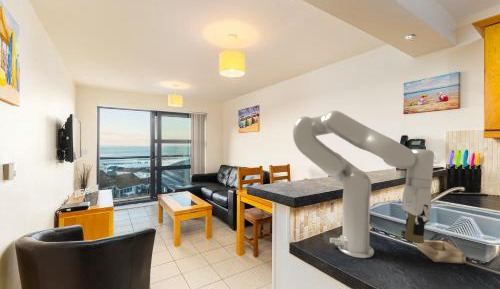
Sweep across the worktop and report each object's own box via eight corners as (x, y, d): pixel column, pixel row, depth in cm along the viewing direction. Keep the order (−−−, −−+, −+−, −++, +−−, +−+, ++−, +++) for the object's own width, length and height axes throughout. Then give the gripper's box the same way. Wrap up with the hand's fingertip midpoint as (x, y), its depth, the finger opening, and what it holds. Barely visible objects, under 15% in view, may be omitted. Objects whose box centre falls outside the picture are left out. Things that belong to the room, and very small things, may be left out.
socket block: (434, 261, 80) (434, 251, 80) (417, 248, 90) (417, 239, 90) (465, 263, 78) (465, 253, 78) (444, 249, 88) (444, 241, 88)
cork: (427, 244, 79) (430, 213, 79) (408, 242, 80) (411, 211, 80) (418, 237, 85) (421, 208, 85) (400, 235, 86) (403, 206, 86)
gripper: (395, 178, 91) (392, 222, 91) (421, 186, 74) (417, 241, 75) (415, 179, 90) (412, 224, 90) (446, 188, 73) (441, 244, 74)
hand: (414, 231), depth 82 cm, fingers closed on cork, 4 cm apart
